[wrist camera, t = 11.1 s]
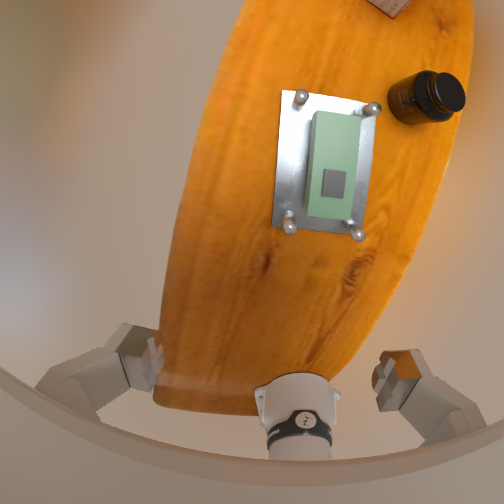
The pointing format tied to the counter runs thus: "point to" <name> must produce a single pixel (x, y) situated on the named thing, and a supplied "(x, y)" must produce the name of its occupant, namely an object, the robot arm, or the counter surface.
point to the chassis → (297, 157)
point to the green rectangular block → (332, 164)
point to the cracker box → (391, 6)
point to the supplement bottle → (426, 98)
